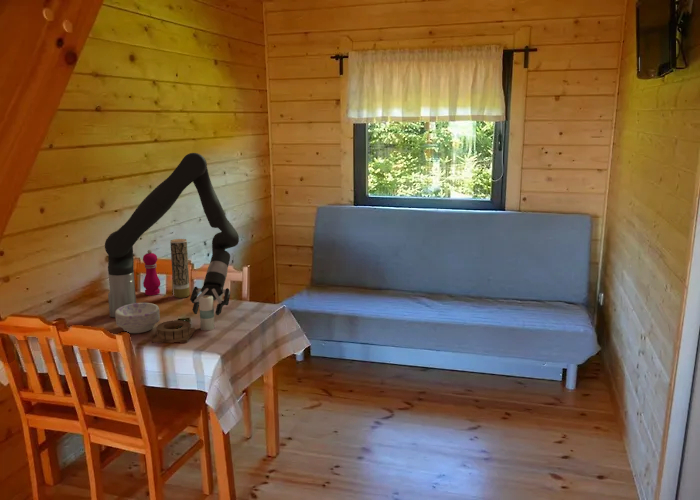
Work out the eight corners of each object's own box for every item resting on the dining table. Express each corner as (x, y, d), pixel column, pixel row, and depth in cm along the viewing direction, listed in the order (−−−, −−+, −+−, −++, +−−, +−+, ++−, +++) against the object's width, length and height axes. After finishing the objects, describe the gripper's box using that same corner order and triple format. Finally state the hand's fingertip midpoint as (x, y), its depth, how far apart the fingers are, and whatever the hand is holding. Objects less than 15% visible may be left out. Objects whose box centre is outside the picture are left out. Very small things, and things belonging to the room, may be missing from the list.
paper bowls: (136, 339, 203) (135, 318, 202) (107, 331, 211) (105, 311, 209) (169, 326, 216) (168, 306, 215) (140, 319, 224) (139, 300, 222)
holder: (152, 342, 201) (151, 331, 200) (162, 330, 212) (161, 320, 211) (186, 342, 201) (186, 331, 200) (195, 330, 213) (194, 320, 212)
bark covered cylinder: (185, 299, 250) (182, 242, 244) (170, 297, 251) (167, 241, 246) (192, 294, 256) (189, 239, 251) (178, 293, 258) (175, 238, 252)
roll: (199, 330, 212) (197, 298, 210) (202, 325, 217) (200, 294, 215) (213, 330, 213) (211, 298, 210) (215, 325, 218) (214, 294, 215)
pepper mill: (140, 294, 255) (137, 250, 251) (151, 290, 262) (148, 247, 257) (153, 296, 253) (150, 252, 248) (164, 292, 259) (161, 248, 255)
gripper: (195, 269, 219) (184, 308, 211) (231, 271, 217) (221, 310, 209) (201, 279, 226) (191, 317, 217) (236, 281, 223) (227, 319, 215)
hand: (206, 313), depth 213 cm, fingers open, 8 cm apart
